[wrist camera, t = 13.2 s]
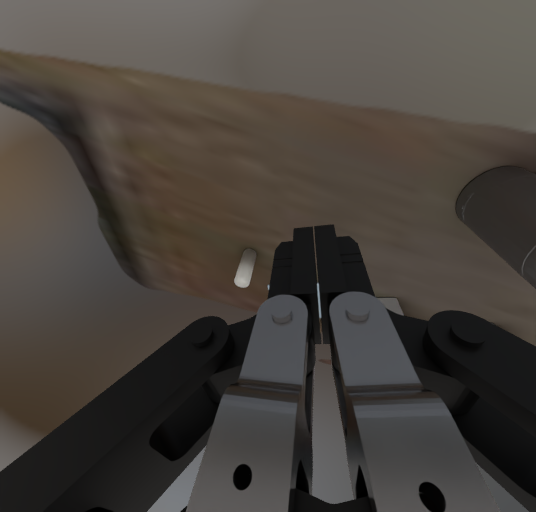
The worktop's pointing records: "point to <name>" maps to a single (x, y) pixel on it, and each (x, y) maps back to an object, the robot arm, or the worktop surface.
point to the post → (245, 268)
